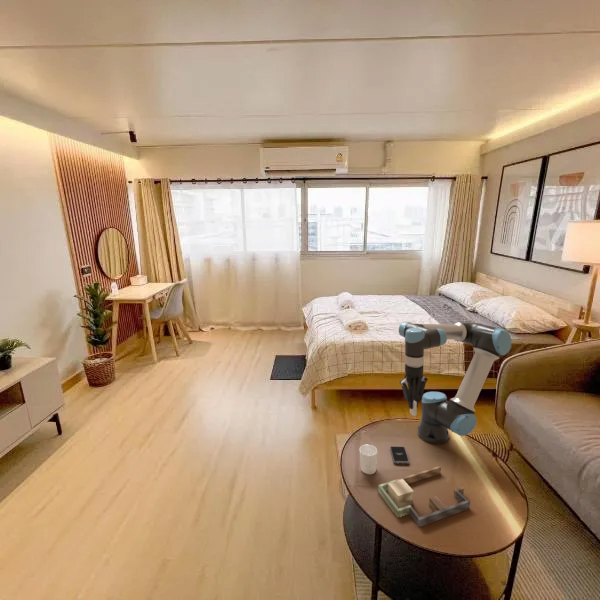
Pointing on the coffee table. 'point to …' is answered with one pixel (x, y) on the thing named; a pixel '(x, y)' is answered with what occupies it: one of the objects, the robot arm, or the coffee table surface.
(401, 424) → the coffee table surface
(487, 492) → the coffee table surface
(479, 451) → the coffee table surface
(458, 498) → the channel
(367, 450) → the white cup
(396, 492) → the block
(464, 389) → the robot arm
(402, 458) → the external hard drive
